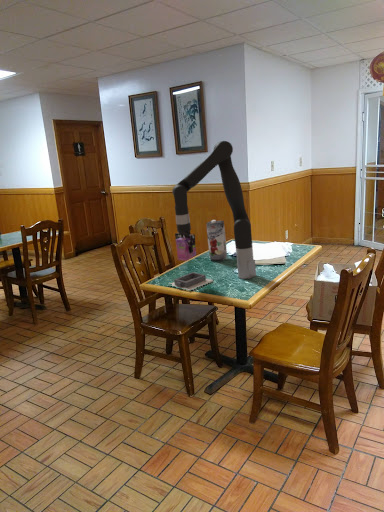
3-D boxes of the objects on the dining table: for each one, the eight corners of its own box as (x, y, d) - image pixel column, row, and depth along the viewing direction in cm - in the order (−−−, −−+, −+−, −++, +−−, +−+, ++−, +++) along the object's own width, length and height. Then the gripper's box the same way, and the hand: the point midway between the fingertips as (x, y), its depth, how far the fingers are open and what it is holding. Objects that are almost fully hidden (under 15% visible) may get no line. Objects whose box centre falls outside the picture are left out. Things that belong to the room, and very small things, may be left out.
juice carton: (214, 257, 269) (210, 218, 262) (228, 257, 264) (224, 218, 257) (208, 261, 262) (204, 221, 254) (223, 261, 257) (219, 221, 250)
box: (186, 260, 212) (183, 239, 209) (177, 260, 216) (175, 239, 213) (197, 255, 221) (194, 234, 218) (188, 254, 224) (186, 234, 221)
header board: (213, 281, 222) (212, 274, 221) (189, 292, 210) (189, 284, 209) (191, 276, 235) (190, 270, 233) (168, 286, 223) (167, 279, 222)
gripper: (197, 221, 210) (200, 251, 215) (179, 220, 221) (183, 249, 225) (187, 224, 205) (190, 255, 210) (169, 223, 216) (173, 252, 220)
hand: (186, 252), depth 217 cm, fingers closed on box, 6 cm apart
